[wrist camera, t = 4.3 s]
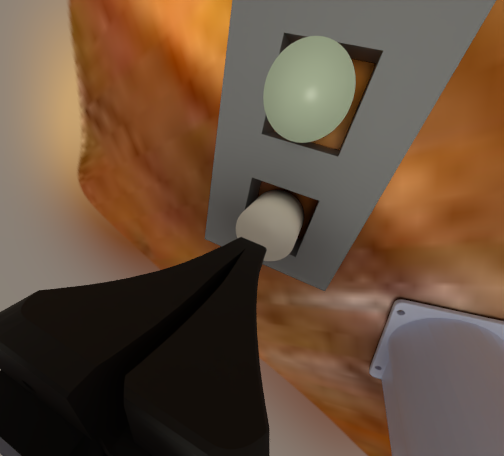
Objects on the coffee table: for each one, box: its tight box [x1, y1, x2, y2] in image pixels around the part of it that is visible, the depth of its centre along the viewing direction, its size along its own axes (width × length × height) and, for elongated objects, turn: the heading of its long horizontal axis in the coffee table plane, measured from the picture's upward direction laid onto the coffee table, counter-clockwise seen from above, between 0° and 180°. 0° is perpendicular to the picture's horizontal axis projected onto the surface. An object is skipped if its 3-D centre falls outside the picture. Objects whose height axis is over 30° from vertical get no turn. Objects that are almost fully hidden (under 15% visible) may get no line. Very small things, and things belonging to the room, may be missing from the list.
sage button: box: [263, 36, 356, 143], centre depth 10 cm, size 4×4×3 cm
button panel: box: [205, 0, 496, 291], centre depth 11 cm, size 22×10×2 cm, turn 167°
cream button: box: [236, 190, 304, 261], centre depth 13 cm, size 4×4×3 cm
